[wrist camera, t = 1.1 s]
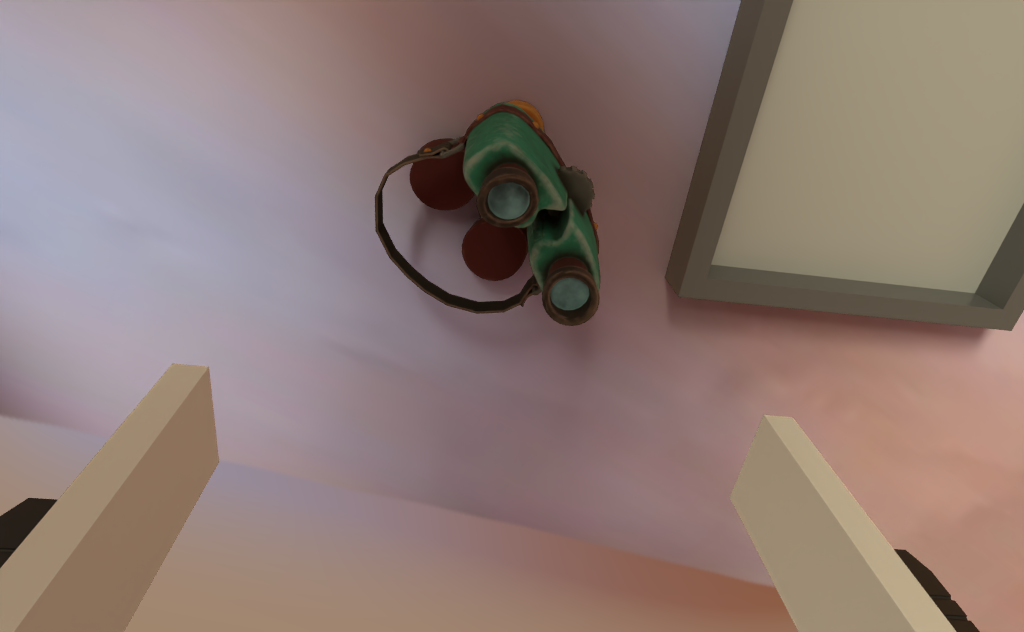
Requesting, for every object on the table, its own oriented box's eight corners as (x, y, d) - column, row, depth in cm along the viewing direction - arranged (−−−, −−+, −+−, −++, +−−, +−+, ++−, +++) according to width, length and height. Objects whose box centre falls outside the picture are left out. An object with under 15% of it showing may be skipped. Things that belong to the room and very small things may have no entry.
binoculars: (297, 259, 22) (535, 108, 19) (368, 170, 31) (535, 60, 28) (441, 423, 25) (658, 320, 22) (466, 301, 34) (622, 216, 31)
